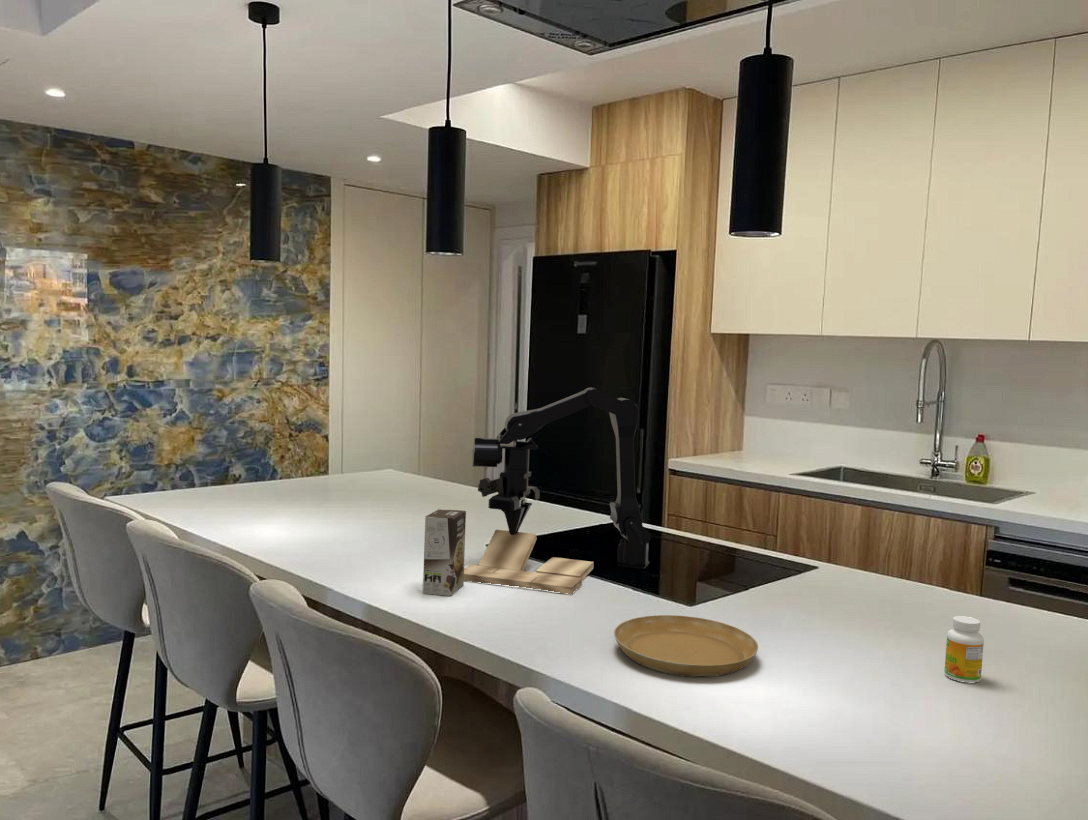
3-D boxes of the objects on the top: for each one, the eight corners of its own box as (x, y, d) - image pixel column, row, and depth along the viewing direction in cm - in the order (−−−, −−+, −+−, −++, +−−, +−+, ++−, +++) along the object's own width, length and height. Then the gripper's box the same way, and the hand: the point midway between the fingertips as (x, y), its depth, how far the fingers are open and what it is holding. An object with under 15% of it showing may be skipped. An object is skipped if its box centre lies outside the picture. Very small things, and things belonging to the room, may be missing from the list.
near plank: (593, 568, 200) (593, 561, 200) (579, 583, 189) (579, 576, 189) (552, 563, 203) (552, 557, 203) (535, 577, 192) (536, 570, 192)
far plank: (536, 538, 202) (535, 533, 202) (520, 575, 193) (519, 570, 192) (496, 534, 206) (495, 529, 205) (479, 570, 196) (478, 565, 195)
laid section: (581, 585, 187) (582, 577, 187) (571, 595, 180) (571, 587, 180) (470, 571, 195) (471, 564, 195) (456, 580, 188) (456, 572, 188)
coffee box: (451, 596, 175) (454, 518, 174) (421, 593, 177) (423, 515, 175) (464, 585, 184) (467, 510, 183) (436, 582, 186) (438, 507, 184)
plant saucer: (785, 677, 139) (786, 657, 139) (647, 689, 132) (648, 668, 132) (714, 629, 162) (715, 611, 162) (593, 636, 155) (594, 618, 155)
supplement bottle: (937, 671, 143) (941, 614, 143) (968, 671, 144) (972, 614, 143) (955, 684, 138) (960, 624, 137) (987, 684, 139) (992, 624, 138)
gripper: (498, 460, 212) (495, 523, 213) (468, 469, 194) (465, 538, 196) (541, 464, 209) (538, 528, 210) (514, 474, 191) (511, 543, 192)
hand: (513, 534), depth 202 cm, fingers closed
